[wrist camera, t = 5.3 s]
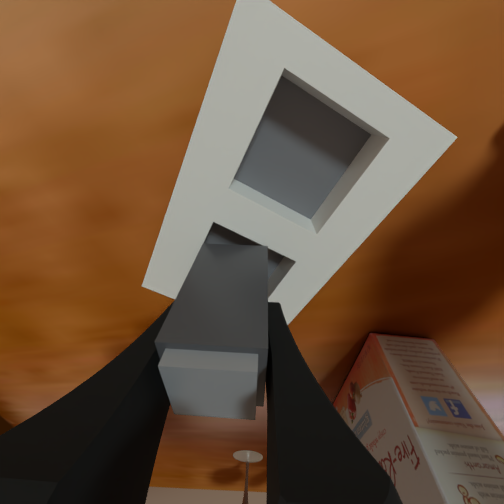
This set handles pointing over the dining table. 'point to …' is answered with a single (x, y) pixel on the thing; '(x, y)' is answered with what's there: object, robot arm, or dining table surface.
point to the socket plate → (290, 158)
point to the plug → (218, 334)
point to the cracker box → (422, 423)
